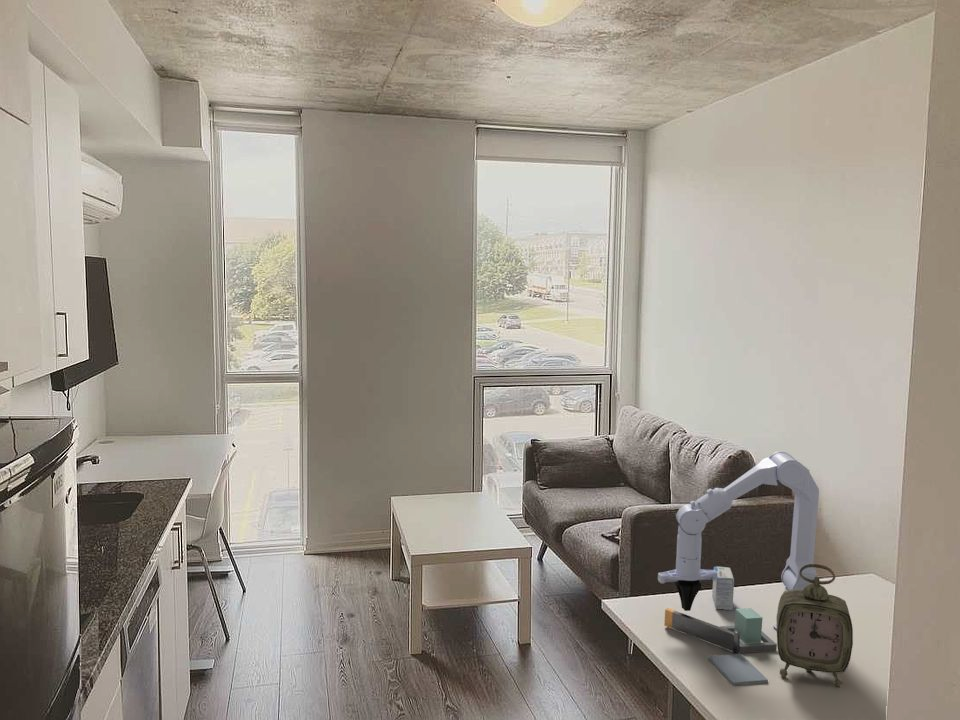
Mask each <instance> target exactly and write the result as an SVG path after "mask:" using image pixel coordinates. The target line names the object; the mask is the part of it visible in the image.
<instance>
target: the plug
mask: <svg viewBox="0 0 960 720" xmlns="http://www.w3.org/2000/svg"><path fill="white" fill-rule="evenodd" d="M734 613H735V615H734V626H735V628H734V631H739V632H740V642H741V643H742V644H749V643H764V642H763V641H761V633H762V632H763V629H762V628H763V616H761V615H760V614H759V613H758V612H757V611H755V610H754V609H753V608H752V607H750V608H749V607H748V608H747V607H746V608H736V609H735V611H734Z"/></svg>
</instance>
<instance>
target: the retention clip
mask: <svg viewBox="0 0 960 720" xmlns="http://www.w3.org/2000/svg"><path fill="white" fill-rule="evenodd" d="M665 626H666V627H668V628H670V629H673V630H676V631H678V632H680V633H684V634H687V635H689V636H692V637H694V638H696V639H699V640H702V641H704V642H707V643H710V644H713V645H715V646H717V647H721V648H722V649H725V650H728V651H730V652H732V654H740V652H739V645H740V632H739V631H734V632H732V631H729V630H727V629H724V628H721V627H720V626H718V625H715V624H713V623H710V622H708V621H704V620H701V619H699V618H696V617H693V616H690V615H688V614H685V613H682V612H679V611H677V610H674V609H672V608H669V607H667V608H665V609H664V627H665Z"/></svg>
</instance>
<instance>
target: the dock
mask: <svg viewBox="0 0 960 720" xmlns="http://www.w3.org/2000/svg"><path fill="white" fill-rule="evenodd" d="M719 627H721V628H724V629H727V630H729V631H732V632H734V628H735V625H724V626H723V625H722V626H721V625H720V626H719ZM761 641H763V642H764V643H749V644H742V643H741V642H740V645H739V654H743V653H744V654H747V652H748V653H761V652H771V651H772V652H773V651H775V652H777V650H778V646H777V643H776V642H775V641H774V640H773V639H772V638H771V637H769V636H768V635H767V634H766V633H765V632H764V631H762V633H761Z"/></svg>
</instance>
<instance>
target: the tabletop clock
mask: <svg viewBox="0 0 960 720" xmlns="http://www.w3.org/2000/svg"><path fill="white" fill-rule="evenodd" d="M809 567H815V569H816V568H818V569H822V570H826V571H828V572H829V573H830V574H831V575H832V579H829V580H820V577H818V576H817V577H815V578H814V580H810V579H808V578H805V577H804V576H803V575H802V571H803V570H804V569H806V568H809ZM799 574H800V576H801V577H802V578H803V579H804V580H805V581H807V582H810V583H813V584H809V585H807V586H806V587H805V588H804V590H788V591H785V590H784V591H783V593H782V594H781V596H780V598H779V601H778V605H777V612H776V617H775V618H776V625H777V630H776V642H777V643H776V644H777V652H778V656H779V658H780V661H782V662H783V663H785V666H784V668H780V670H779V674H780V675H779V676H782V677H784V678H785V677H787V676H788V669H789V667H790V666H793V667H795V668H799V669H800V668H801V669H804V670H806V671H807V672H811V671H813V672H821V673H830V674H832V676H833V677H834V681H833V684H834V686H835V687H837V688H839V687H842V686H843V681H842V680H841V679H840V678H838V675H837V674H839V673H840V674H841V673H844V672H846V670H847V668H848V666H849V664H850V662H851V661H850V660H851V656H852V653H853V652H852V651H853V645H854V644H853V643H854V642H853V641H854V639H853V638H854V636H853V635H854V634H853V633H854V632H853V631H854V630H853V623H852V618H851V615H850V612H849V608H848V605H847V601H846V600H844V599H843V598H841V597H838V596H837V595H833V594H829V593H828V590H827V589H826V588H825V586H823V585H830V584H831V583H833V582H834V581H835V580H836V574H835V573H834V571H833V570H832V569H831V568H829V567H828V566H825V565H822V564H819V563H817V564H815V563H814V564H808V565H805V566H803V567H802V568H801V569H800V571H799Z"/></svg>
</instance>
